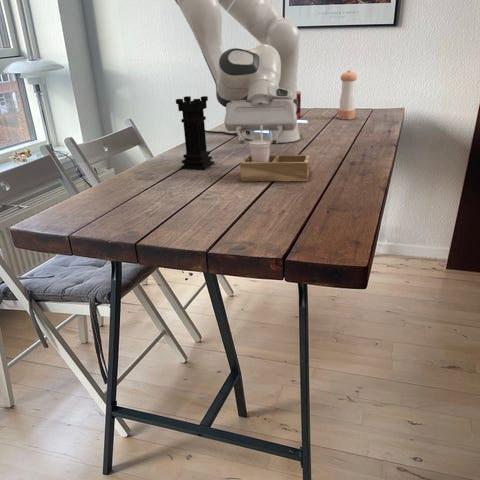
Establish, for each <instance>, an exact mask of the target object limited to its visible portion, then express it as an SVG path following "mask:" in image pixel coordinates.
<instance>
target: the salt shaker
mask: <svg viewBox="0 0 480 480" xmlns="http://www.w3.org/2000/svg"><path fill="white" fill-rule="evenodd" d="M357 80H358V75H357V73H355V72H352V70H350V69H349V70H347V72H344V73H342V74H341V75H340V81H341V93H340V97H339V109H338V115H337V118H338V120H353V119H355V118H356V117H355V116H356V109H355V107H356V106H355V105H356V95H355V89H356V88H355V86H356V81H357Z"/></svg>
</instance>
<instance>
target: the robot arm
mask: <svg viewBox="0 0 480 480" xmlns="http://www.w3.org/2000/svg"><path fill="white" fill-rule="evenodd" d="M174 1H175V3H176V5H177V6H178V7H179V9H180V11H181V13H182V15H183V17H184V18H185V21H186V22H187V24H188V26H189V28H190V30H191V32H192V34H193V36H194V38H195V40H196V42H197V44H198V47H199V49H200V51H201V53H202V56H203V58H204V61H205V63H206V65H207V68H208V70H209V72H210V74H211V77H212V78H213V81H214V84H215V97H216V100H217V102H218V103H219V104H220V105H221V106H222V107H224V108H225V115H224V116H225V117H224V121H223V122H224V127H225V129H226V130H227V131H228V132H227V131H218V130H216V131H215V130H207V129H205V134H222V135H227V136H238V143H239V144H241V145H242V144H243V145H244V144H245V143H246V140H249V141H252V140H261V130H260V125H262V130H263V140H270V141H271V144H282V143H283V144H285V143H293V142H296V141H299V140H301V135H300V131H299V130H300V129H299V123H304V124H308V120H303V119H302V120H301V119H298V118H297V109H298V99H297V91H298V90H297V89H298V87H297V86H298V85H297V84H298V77H297V76H298V65H299V55H300V39H301V38H300V31H299V28H298V26H297V25H296V23H294V22H293V21H292V20H289V19H287V18H284V16H283V15H282V14H281V13H279V11H278V10H277V9H276V8H275V6H273V5H272V4H271V2H269V0H174ZM221 7H222V8H223V9H224V11H225V12H226V13H228V14H229V15H230V16H231V17H232V18H233V19H234V20H235V21H236V22H237V23H239V25H241V26H242V27H243V28H244V29H245V30H246V31H247V32H248V33H249V34H250V35H251V36H252V37H253V38H254V39H255V40H256V41H257V42H258V43H260V44H258V45H257V46H256V47H253V48H250V49H242V48H236V47H234V48H229V49H227V50H224V45H223V35H222V21H223V20H222V17H223V16H222V8H221ZM243 132H245V134H243Z"/></svg>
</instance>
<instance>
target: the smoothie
mask: <svg viewBox="0 0 480 480" xmlns="http://www.w3.org/2000/svg"><path fill="white" fill-rule="evenodd" d="M260 130H261V140H249V141H248V147H249V151H250V155H251V158H252V162H269V155H270V151H271V146H272V143H271V141H270V140H263V130H262V125H260Z"/></svg>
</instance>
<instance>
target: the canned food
mask: <svg viewBox="0 0 480 480" xmlns="http://www.w3.org/2000/svg"><path fill="white" fill-rule="evenodd" d="M301 97H302V93H301V91H300V90H297V99H298V109H297V119H300V118H301V101H302V100H301V99H302V98H301Z"/></svg>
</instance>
